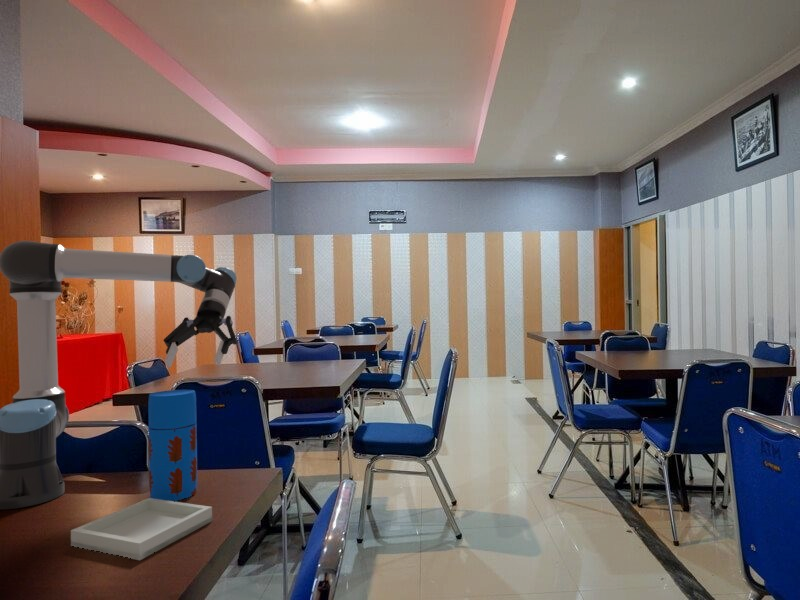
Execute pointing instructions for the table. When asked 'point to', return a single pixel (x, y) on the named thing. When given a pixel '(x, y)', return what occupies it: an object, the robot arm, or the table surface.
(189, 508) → the tray
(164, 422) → the thermos
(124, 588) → the table surface
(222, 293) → the robot arm
